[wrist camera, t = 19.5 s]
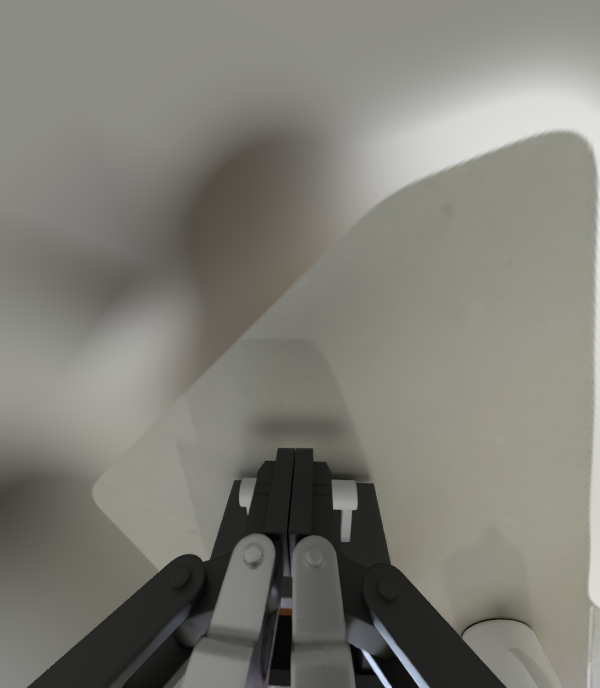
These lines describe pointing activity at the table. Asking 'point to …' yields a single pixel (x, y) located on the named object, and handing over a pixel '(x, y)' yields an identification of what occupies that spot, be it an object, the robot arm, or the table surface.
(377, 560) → the drawer
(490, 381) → the table surface
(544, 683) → the mug
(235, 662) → the robot arm
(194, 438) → the table surface
